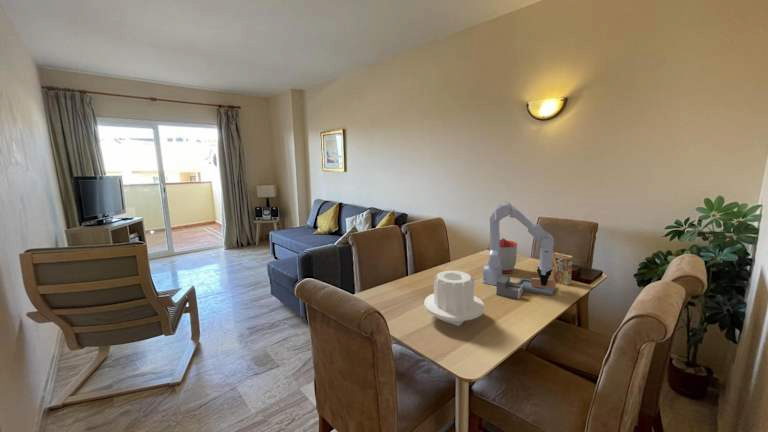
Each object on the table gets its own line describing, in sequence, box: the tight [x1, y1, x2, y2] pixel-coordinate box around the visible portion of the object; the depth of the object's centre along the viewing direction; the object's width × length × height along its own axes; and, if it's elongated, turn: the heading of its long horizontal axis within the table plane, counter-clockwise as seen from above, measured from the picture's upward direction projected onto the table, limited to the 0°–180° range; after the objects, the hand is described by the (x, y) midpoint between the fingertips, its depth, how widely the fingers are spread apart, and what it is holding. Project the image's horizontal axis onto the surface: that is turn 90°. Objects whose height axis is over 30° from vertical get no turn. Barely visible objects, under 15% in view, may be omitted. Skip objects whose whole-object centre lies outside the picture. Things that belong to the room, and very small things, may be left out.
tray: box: [517, 277, 556, 297], centre depth 162 cm, size 17×13×2 cm
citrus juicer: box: [486, 237, 518, 274], centre depth 187 cm, size 16×17×20 cm
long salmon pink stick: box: [530, 277, 557, 290], centre depth 160 cm, size 11×1×4 cm, turn 55°
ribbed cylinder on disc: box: [423, 269, 485, 327], centre depth 133 cm, size 25×25×19 cm
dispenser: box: [496, 274, 524, 300], centre depth 156 cm, size 10×10×7 cm
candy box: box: [550, 252, 574, 286], centre depth 167 cm, size 9×4×15 cm, turn 34°
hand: (544, 283), depth 159 cm, fingers open, 4 cm apart
